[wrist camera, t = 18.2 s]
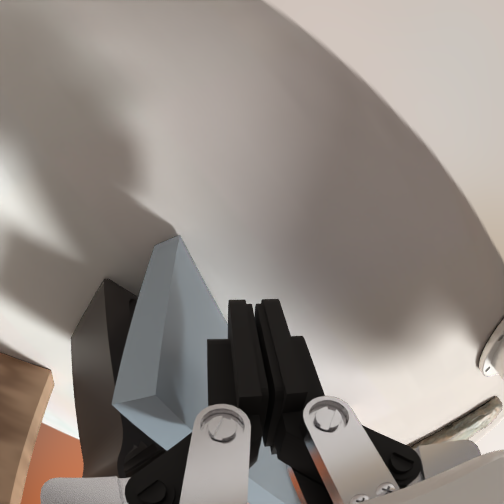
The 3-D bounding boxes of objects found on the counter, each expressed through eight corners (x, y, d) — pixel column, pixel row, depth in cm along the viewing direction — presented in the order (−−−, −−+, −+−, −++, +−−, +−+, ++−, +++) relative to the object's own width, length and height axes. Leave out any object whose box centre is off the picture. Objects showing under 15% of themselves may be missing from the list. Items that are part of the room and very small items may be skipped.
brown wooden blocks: (348, 409, 27) (403, 550, 13) (339, 420, 27) (387, 556, 13) (-22, 342, 18) (-88, 487, 4) (-17, 358, 19) (-75, 497, 5)
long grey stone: (486, 406, 41) (496, 378, 37) (500, 424, 36) (513, 397, 32) (321, 498, 41) (308, 484, 37) (329, 521, 36) (317, 511, 32)
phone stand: (72, 333, 19) (20, 486, 8) (106, 275, 17) (36, 461, 7) (177, 388, 22) (177, 534, 12) (224, 345, 21) (244, 518, 10)
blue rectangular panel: (287, 420, 25) (311, 518, 16) (268, 426, 25) (288, 524, 16) (182, 233, 16) (160, 393, 7) (152, 246, 16) (107, 405, 7)
